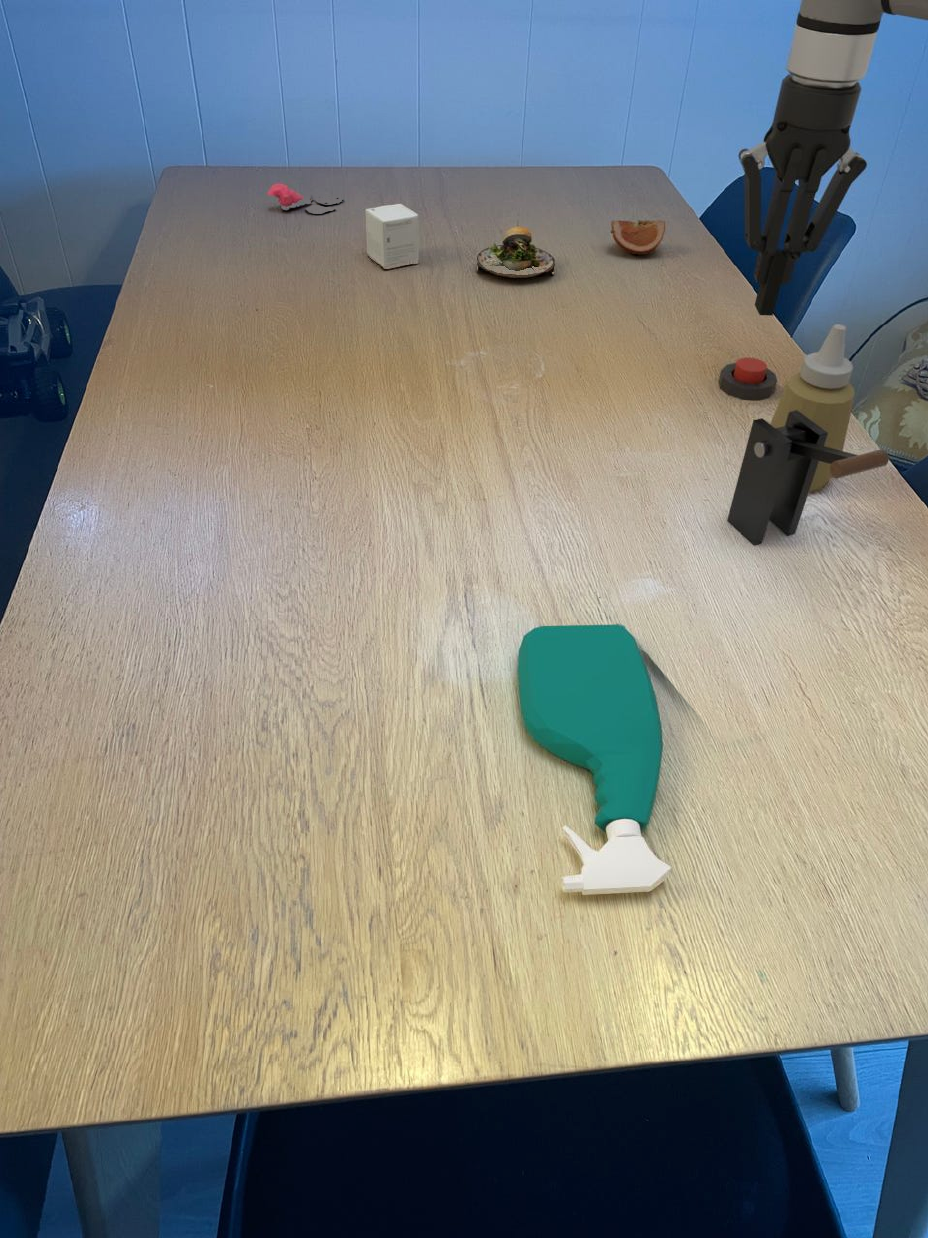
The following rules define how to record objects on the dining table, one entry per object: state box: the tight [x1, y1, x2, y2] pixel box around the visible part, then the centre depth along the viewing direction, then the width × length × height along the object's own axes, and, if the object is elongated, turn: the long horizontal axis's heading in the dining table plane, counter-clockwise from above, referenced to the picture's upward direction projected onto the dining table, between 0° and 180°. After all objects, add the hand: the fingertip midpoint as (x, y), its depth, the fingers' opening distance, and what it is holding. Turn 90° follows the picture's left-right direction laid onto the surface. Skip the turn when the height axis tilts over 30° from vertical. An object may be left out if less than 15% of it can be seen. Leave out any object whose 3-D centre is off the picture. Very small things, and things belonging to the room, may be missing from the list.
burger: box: [476, 213, 556, 279], centre depth 139 cm, size 12×12×8 cm
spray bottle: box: [517, 623, 672, 896], centre depth 71 cm, size 3×11×24 cm
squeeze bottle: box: [769, 323, 856, 493], centre depth 94 cm, size 8×8×18 cm
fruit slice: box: [610, 219, 666, 256], centre depth 146 cm, size 8×7×5 cm
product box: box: [365, 203, 420, 266], centre depth 141 cm, size 6×6×7 cm
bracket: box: [726, 410, 828, 547], centre depth 89 cm, size 9×7×13 cm
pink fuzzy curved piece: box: [266, 182, 304, 207], centre depth 159 cm, size 12×11×4 cm
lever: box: [776, 426, 889, 479], centre depth 82 cm, size 11×5×2 cm, turn 24°
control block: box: [718, 362, 778, 402], centre depth 112 cm, size 10×7×3 cm
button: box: [733, 357, 768, 384], centre depth 112 cm, size 4×4×2 cm
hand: (763, 309), depth 107 cm, fingers closed
